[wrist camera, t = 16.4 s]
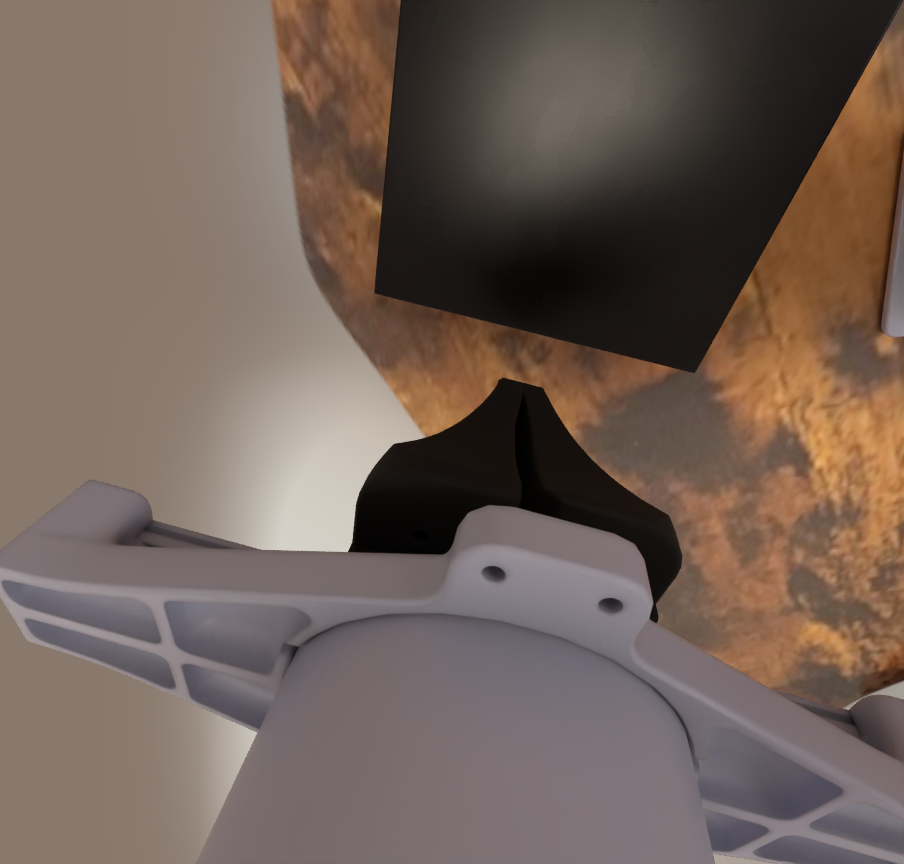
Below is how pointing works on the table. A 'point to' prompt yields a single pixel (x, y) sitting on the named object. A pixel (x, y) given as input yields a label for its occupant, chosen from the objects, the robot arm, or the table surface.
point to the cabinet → (606, 157)
